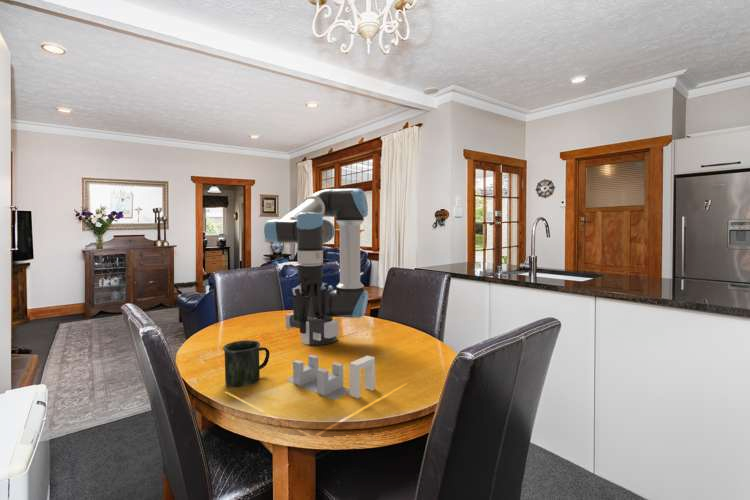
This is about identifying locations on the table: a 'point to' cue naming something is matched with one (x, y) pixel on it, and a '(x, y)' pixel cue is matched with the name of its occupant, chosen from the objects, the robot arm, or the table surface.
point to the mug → (243, 363)
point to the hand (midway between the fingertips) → (311, 341)
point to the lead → (316, 325)
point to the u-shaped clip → (355, 375)
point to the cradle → (319, 378)
